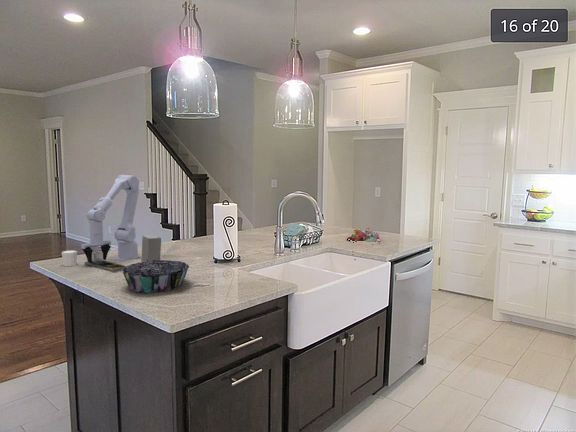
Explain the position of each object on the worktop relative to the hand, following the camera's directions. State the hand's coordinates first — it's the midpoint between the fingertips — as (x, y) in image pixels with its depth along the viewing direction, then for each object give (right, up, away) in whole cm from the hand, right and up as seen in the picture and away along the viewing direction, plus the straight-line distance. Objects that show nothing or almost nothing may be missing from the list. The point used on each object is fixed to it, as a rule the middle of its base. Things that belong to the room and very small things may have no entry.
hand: (97, 261), depth 209 cm
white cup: (-12, -2, -3) cm, 13 cm away
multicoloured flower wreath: (+147, +4, +86) cm, 170 cm away
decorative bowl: (+39, -8, -31) cm, 50 cm away
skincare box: (+28, -3, -3) cm, 28 cm away
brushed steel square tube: (0, -2, 0) cm, 2 cm away
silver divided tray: (+6, -3, -4) cm, 8 cm away
